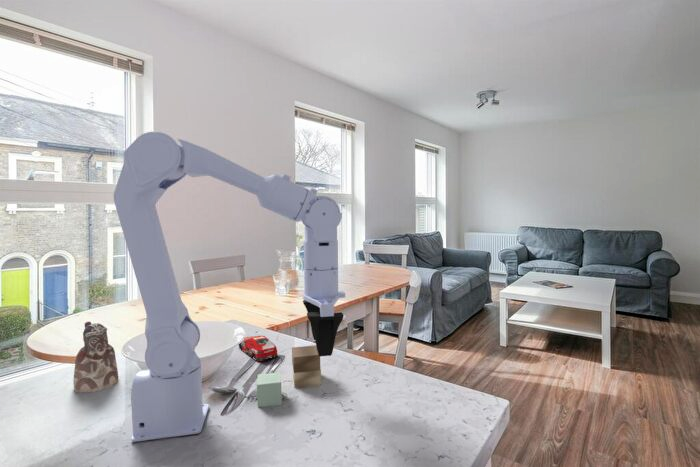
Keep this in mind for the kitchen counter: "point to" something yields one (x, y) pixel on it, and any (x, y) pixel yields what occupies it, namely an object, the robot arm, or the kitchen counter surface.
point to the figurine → (95, 361)
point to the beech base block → (307, 378)
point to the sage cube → (269, 389)
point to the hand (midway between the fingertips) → (322, 346)
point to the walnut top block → (305, 359)
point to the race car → (258, 347)
